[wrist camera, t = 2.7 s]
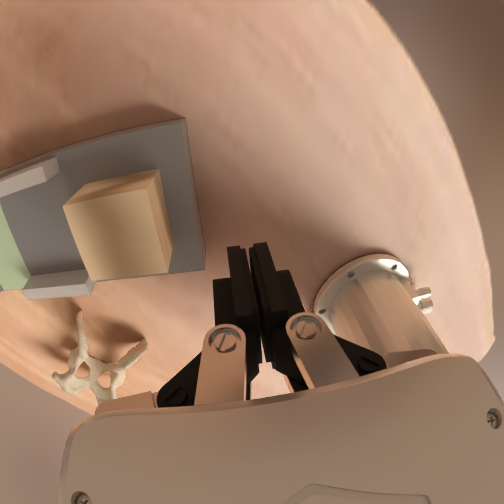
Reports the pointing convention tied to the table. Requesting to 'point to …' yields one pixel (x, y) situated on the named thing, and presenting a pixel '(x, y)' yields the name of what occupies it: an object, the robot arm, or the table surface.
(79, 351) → the anatomical model
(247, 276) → the robot arm
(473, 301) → the table surface
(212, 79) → the table surface
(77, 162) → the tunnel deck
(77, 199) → the block
